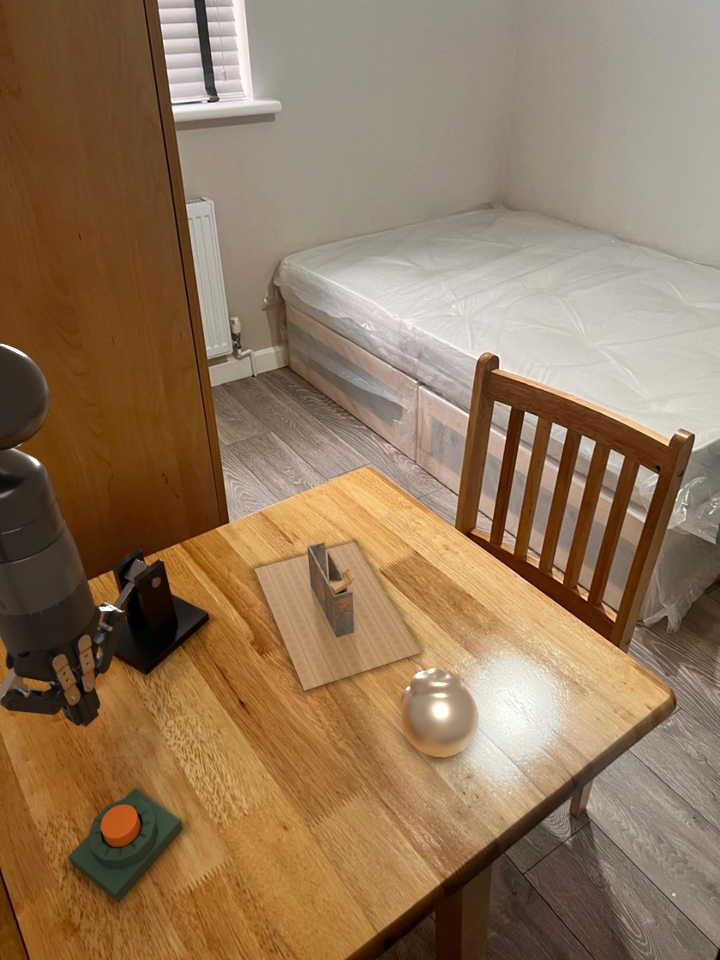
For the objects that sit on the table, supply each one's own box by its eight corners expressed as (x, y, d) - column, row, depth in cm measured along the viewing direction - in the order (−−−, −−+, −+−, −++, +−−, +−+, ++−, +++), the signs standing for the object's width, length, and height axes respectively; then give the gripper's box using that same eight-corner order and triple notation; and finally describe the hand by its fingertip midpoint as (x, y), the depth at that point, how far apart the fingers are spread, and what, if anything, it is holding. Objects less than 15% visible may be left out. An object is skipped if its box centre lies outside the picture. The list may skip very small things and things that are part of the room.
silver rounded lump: (475, 707, 90) (480, 651, 84) (476, 776, 82) (482, 720, 77) (401, 701, 91) (402, 646, 85) (396, 769, 83) (396, 713, 78)
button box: (118, 903, 72) (110, 885, 70) (72, 864, 75) (63, 846, 73) (183, 828, 78) (178, 810, 76) (138, 796, 81) (131, 777, 79)
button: (121, 854, 73) (117, 844, 72) (96, 835, 74) (93, 826, 73) (147, 825, 75) (144, 815, 74) (124, 807, 77) (120, 798, 76)
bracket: (146, 675, 95) (126, 605, 88) (100, 648, 99) (77, 578, 92) (209, 619, 103) (195, 550, 96) (164, 595, 108) (147, 527, 100)
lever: (88, 684, 91) (73, 677, 88) (71, 673, 92) (56, 666, 90) (161, 574, 96) (148, 564, 94) (144, 565, 98) (131, 555, 95)
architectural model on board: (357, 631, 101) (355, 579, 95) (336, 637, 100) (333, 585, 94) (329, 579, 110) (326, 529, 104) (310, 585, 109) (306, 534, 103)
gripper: (71, 519, 64) (114, 655, 74) (-73, 610, 55) (-3, 751, 65) (129, 548, 60) (166, 687, 70) (-14, 651, 52) (51, 793, 61)
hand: (85, 717), depth 68 cm, fingers closed
